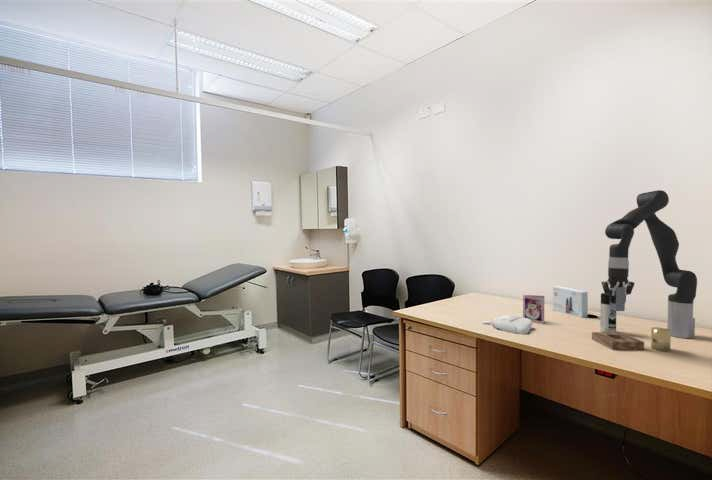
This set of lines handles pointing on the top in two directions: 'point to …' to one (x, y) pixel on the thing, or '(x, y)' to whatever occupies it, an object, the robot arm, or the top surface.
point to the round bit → (661, 339)
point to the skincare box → (570, 301)
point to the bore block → (617, 341)
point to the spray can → (607, 315)
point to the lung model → (512, 324)
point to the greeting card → (533, 308)
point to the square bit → (619, 299)
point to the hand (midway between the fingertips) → (617, 303)
